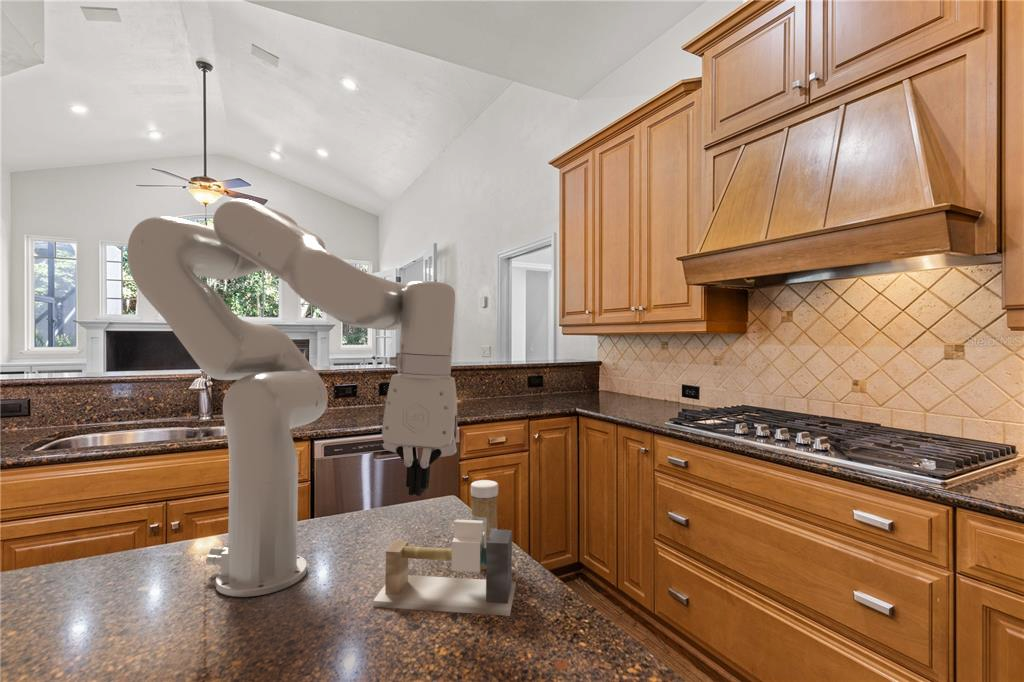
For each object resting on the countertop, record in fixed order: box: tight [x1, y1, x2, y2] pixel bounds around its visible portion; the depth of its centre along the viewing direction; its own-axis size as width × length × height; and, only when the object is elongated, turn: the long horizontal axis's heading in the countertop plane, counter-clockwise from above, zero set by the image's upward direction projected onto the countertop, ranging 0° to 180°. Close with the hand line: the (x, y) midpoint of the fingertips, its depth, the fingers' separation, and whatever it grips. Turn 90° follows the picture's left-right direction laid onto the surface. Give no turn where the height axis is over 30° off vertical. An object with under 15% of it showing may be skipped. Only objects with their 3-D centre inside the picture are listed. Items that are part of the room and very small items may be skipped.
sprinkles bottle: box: [470, 479, 499, 570], centre depth 81 cm, size 5×5×14 cm
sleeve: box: [451, 518, 485, 573], centre depth 70 cm, size 4×4×6 cm
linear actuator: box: [372, 528, 517, 617], centre depth 71 cm, size 19×8×9 cm, turn 84°
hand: (417, 492), depth 71 cm, fingers closed
